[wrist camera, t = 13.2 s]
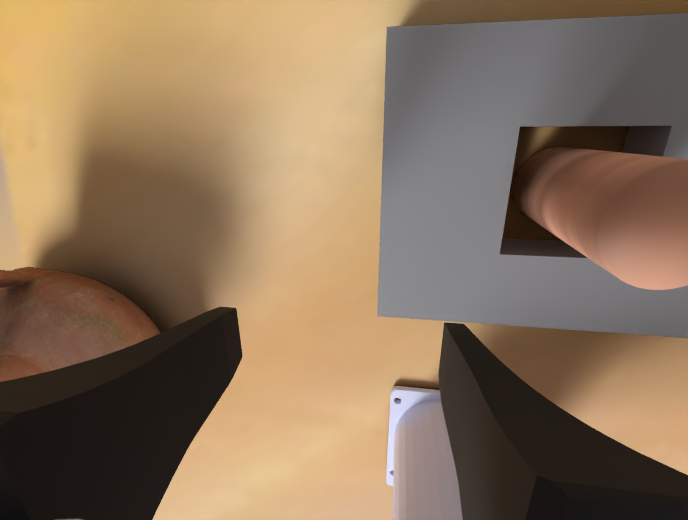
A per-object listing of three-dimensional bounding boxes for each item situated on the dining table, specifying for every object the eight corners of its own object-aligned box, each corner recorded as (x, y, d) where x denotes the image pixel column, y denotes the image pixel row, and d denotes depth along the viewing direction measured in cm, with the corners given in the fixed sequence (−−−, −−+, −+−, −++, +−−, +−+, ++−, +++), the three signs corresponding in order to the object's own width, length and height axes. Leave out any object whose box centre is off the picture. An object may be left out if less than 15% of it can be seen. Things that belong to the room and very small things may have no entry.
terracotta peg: (583, 222, 19) (724, 293, 11) (507, 220, 20) (585, 286, 11) (602, 146, 18) (779, 160, 10) (519, 146, 18) (618, 159, 10)
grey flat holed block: (695, 312, 20) (743, 342, 17) (380, 293, 23) (377, 315, 20) (807, 26, 15) (899, 3, 12) (389, 43, 18) (386, 26, 15)
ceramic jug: (214, 432, 29) (63, 679, 16) (67, 421, 32) (-170, 628, 19) (162, 224, 23) (-149, 348, 10) (-16, 230, 26) (-455, 335, 12)
